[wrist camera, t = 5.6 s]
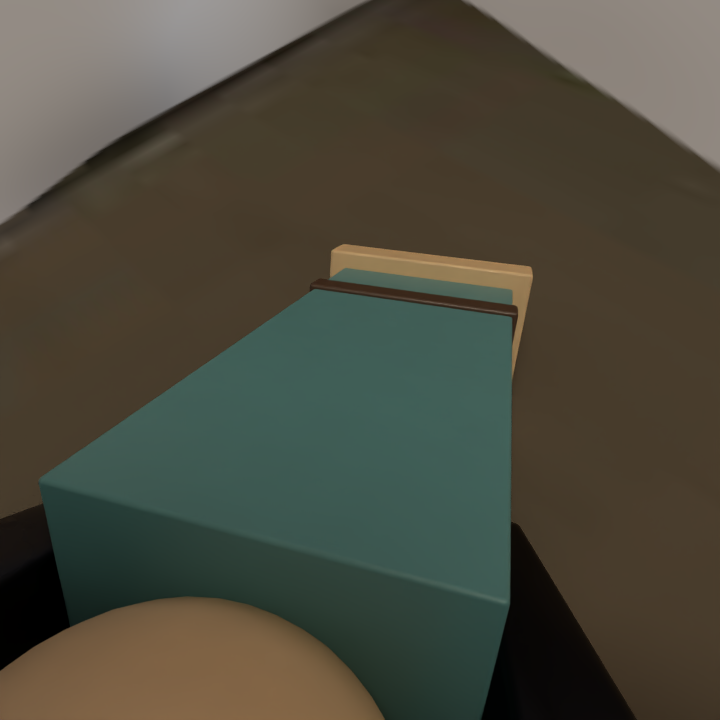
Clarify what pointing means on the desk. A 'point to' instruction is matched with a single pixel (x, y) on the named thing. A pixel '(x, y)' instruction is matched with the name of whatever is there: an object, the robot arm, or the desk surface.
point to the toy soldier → (299, 515)
